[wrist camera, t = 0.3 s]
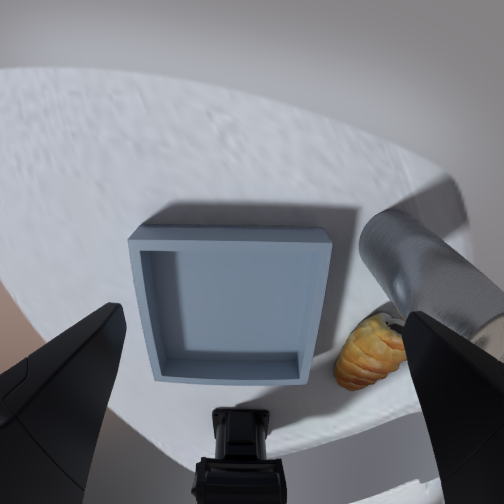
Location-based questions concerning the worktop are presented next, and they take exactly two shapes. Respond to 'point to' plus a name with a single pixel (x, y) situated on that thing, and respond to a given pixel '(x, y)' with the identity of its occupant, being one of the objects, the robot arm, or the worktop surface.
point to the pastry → (370, 352)
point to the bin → (230, 301)
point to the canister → (433, 279)
